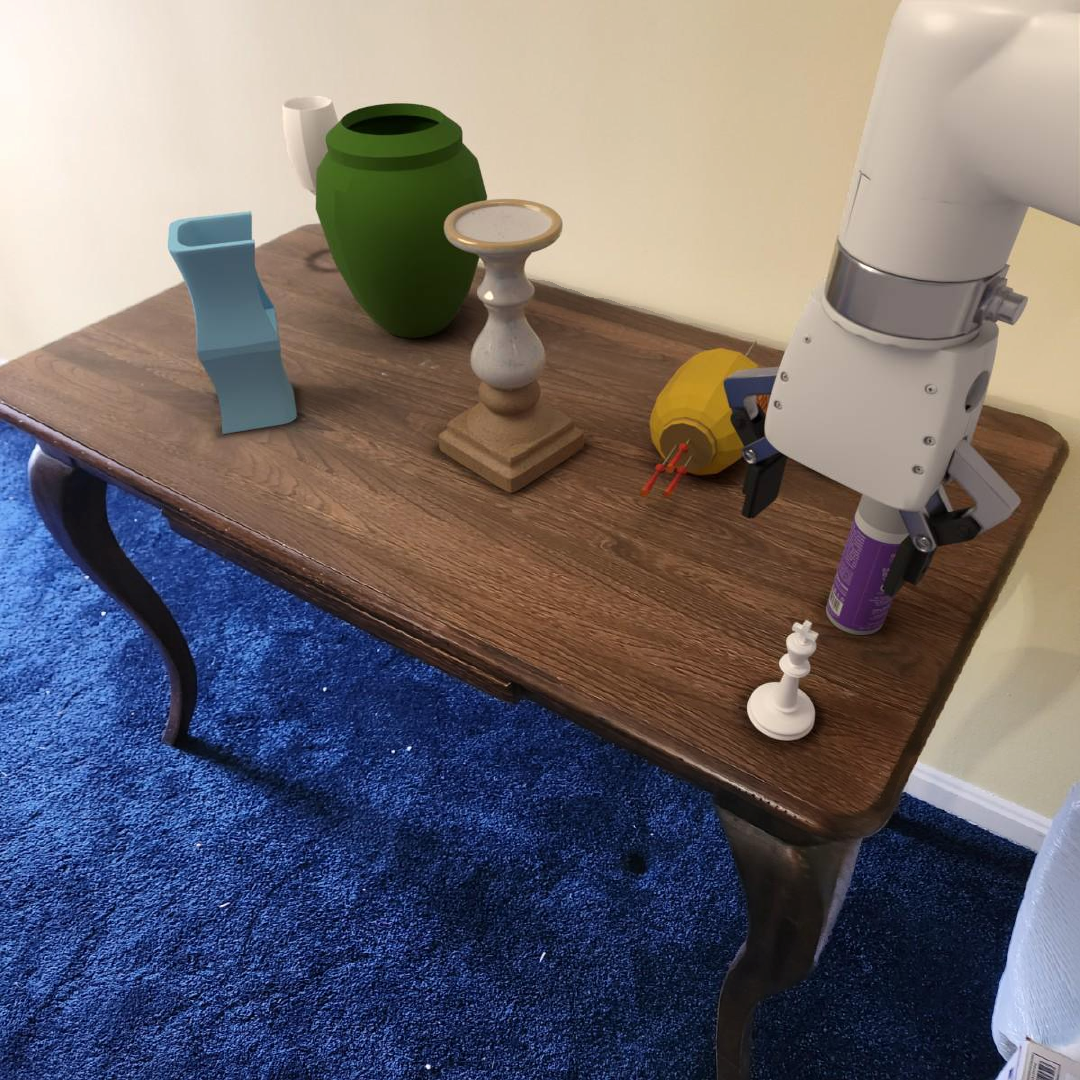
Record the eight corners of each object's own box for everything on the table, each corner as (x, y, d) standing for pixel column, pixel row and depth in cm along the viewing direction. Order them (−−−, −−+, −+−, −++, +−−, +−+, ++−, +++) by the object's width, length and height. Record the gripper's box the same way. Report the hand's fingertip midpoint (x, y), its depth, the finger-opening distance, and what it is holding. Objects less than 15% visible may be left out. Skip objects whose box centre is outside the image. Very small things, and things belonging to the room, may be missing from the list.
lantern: (700, 452, 70) (797, 298, 90) (594, 443, 75) (708, 299, 95) (712, 547, 76) (801, 384, 96) (613, 534, 81) (716, 381, 100)
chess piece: (794, 752, 62) (823, 663, 55) (734, 716, 64) (756, 626, 57) (826, 710, 64) (858, 620, 58) (767, 676, 67) (792, 586, 60)
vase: (331, 299, 114) (294, 100, 97) (475, 280, 118) (463, 86, 101) (346, 374, 100) (306, 157, 84) (509, 350, 104) (501, 138, 87)
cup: (366, 250, 125) (343, 95, 111) (351, 272, 120) (325, 112, 106) (318, 247, 126) (289, 93, 112) (302, 269, 121) (269, 110, 107)
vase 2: (298, 422, 93) (255, 242, 79) (222, 434, 91) (166, 253, 78) (292, 384, 98) (251, 210, 85) (221, 395, 97) (168, 220, 83)
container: (871, 644, 69) (926, 501, 59) (816, 618, 71) (860, 476, 61) (892, 610, 72) (948, 468, 62) (838, 586, 74) (885, 444, 64)
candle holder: (511, 495, 83) (501, 260, 67) (437, 449, 89) (411, 221, 73) (586, 446, 89) (594, 219, 73) (512, 406, 95) (504, 186, 79)
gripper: (1126, 318, 39) (988, 583, 50) (794, 210, 48) (742, 457, 59) (1064, 383, 35) (930, 654, 46) (714, 252, 44) (676, 507, 55)
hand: (825, 543), depth 53 cm, fingers open, 9 cm apart
